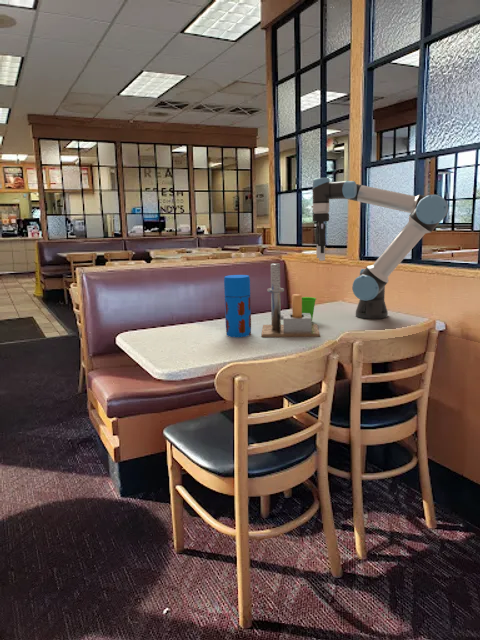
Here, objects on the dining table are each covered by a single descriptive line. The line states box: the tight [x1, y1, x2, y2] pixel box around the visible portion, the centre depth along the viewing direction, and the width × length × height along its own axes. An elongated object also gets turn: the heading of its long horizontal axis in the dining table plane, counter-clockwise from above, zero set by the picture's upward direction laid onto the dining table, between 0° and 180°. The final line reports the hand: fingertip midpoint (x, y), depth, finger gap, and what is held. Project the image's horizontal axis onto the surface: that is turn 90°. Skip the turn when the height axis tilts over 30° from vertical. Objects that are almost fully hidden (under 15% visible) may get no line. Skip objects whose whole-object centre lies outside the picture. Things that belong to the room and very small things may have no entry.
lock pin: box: [291, 293, 303, 317], centre depth 208 cm, size 4×4×15 cm
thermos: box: [223, 274, 252, 338], centre depth 206 cm, size 11×11×25 cm
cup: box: [302, 296, 317, 319], centre depth 228 cm, size 9×9×11 cm
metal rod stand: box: [261, 263, 321, 338], centre depth 208 cm, size 24×18×29 cm
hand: (320, 259), depth 228 cm, fingers open, 13 cm apart
